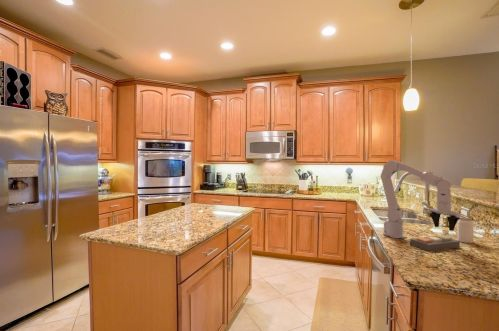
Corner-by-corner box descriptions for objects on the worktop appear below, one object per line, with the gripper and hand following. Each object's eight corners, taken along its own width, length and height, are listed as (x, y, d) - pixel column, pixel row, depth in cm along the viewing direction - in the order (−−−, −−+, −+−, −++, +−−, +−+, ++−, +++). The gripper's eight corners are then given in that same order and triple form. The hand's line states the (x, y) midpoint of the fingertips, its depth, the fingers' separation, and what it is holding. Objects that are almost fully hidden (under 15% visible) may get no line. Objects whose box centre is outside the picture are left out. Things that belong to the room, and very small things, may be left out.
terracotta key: (417, 241, 125) (417, 238, 125) (423, 241, 126) (423, 237, 126) (425, 244, 120) (425, 240, 120) (432, 243, 122) (432, 240, 122)
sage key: (436, 239, 128) (436, 236, 128) (442, 238, 129) (442, 235, 129) (445, 242, 124) (445, 238, 124) (451, 241, 125) (451, 237, 125)
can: (476, 243, 128) (476, 220, 128) (462, 243, 129) (462, 220, 129) (468, 240, 134) (468, 218, 134) (454, 239, 135) (454, 217, 135)
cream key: (426, 240, 126) (426, 237, 126) (433, 239, 127) (433, 236, 127) (435, 243, 122) (435, 239, 122) (442, 242, 123) (442, 238, 123)
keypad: (410, 244, 127) (410, 238, 127) (439, 241, 132) (439, 235, 132) (428, 251, 117) (428, 244, 117) (459, 247, 123) (459, 241, 123)
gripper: (465, 204, 120) (465, 231, 120) (435, 200, 134) (435, 224, 134) (454, 204, 119) (454, 232, 119) (425, 200, 133) (426, 225, 133)
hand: (444, 228), depth 126 cm, fingers open, 7 cm apart
